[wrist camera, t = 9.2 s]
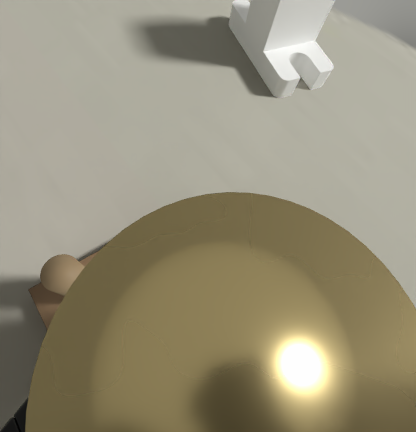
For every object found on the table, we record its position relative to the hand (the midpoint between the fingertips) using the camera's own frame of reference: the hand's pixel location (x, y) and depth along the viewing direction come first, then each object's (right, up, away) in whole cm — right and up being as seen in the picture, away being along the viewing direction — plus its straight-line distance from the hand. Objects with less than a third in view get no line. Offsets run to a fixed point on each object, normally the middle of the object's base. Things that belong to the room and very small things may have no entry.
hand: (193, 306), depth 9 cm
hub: (0, -4, +5) cm, 7 cm away
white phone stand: (+7, +18, +18) cm, 26 cm away
